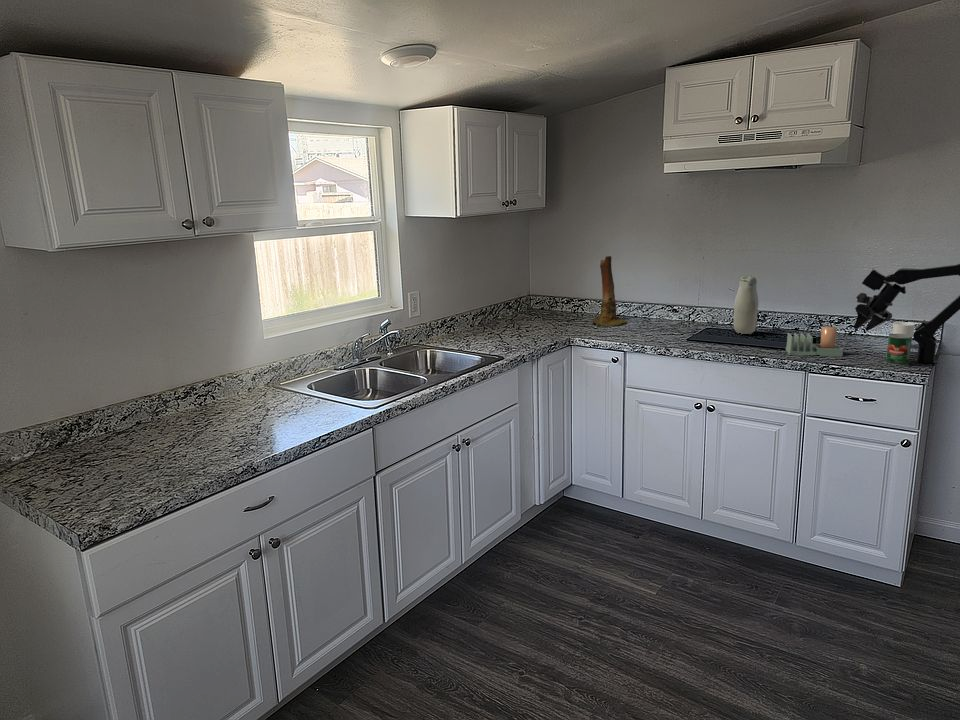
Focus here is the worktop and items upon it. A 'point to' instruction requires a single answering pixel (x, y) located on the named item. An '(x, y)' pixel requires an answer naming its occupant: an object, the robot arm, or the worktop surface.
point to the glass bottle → (746, 306)
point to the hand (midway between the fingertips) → (860, 329)
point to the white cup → (903, 328)
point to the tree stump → (608, 297)
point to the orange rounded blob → (828, 337)
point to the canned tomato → (898, 349)
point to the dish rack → (809, 346)
